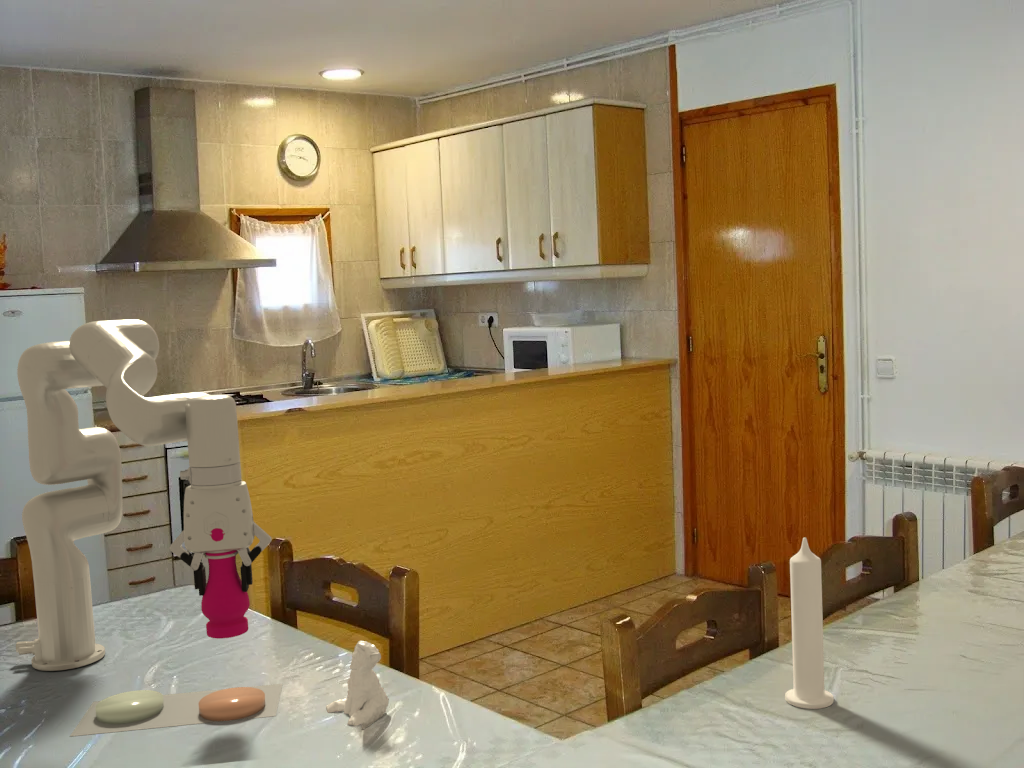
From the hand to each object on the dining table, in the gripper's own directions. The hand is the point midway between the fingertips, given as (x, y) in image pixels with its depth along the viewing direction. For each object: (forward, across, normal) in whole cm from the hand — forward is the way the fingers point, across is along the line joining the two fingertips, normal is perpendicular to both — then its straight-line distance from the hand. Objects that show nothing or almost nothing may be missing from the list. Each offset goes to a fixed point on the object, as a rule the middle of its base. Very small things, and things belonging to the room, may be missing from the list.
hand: (224, 590), depth 163 cm
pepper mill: (+7, 0, 0) cm, 7 cm away
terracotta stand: (+19, 0, 0) cm, 19 cm away
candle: (+20, +87, -17) cm, 91 cm away
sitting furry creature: (+20, +20, -6) cm, 29 cm away
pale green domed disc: (+19, -16, +3) cm, 25 cm away
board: (+20, -8, +2) cm, 22 cm away
